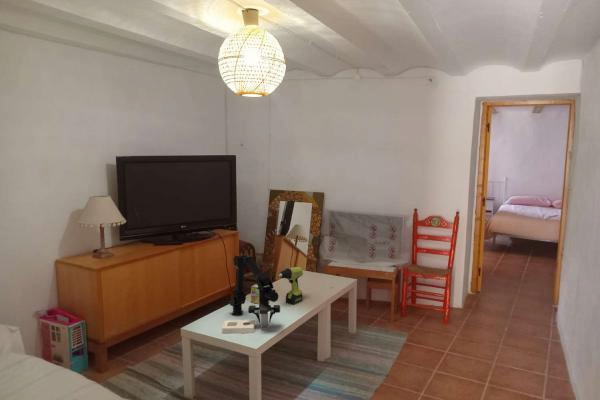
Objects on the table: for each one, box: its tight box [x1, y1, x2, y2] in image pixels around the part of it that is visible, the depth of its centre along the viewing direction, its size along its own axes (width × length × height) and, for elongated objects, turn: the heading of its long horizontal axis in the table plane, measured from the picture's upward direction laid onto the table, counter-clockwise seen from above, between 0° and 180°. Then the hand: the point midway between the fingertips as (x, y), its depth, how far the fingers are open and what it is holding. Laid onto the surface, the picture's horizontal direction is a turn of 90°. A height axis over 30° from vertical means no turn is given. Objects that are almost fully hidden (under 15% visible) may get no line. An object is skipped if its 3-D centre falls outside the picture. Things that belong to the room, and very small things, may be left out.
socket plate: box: [221, 319, 256, 334], centre depth 259 cm, size 12×18×3 cm, turn 91°
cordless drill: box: [278, 266, 304, 306], centre depth 297 cm, size 23×7×25 cm, turn 142°
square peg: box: [260, 313, 269, 329], centre depth 261 cm, size 4×4×8 cm
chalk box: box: [250, 283, 267, 305], centre depth 303 cm, size 9×9×15 cm
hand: (264, 322), depth 261 cm, fingers open, 6 cm apart
